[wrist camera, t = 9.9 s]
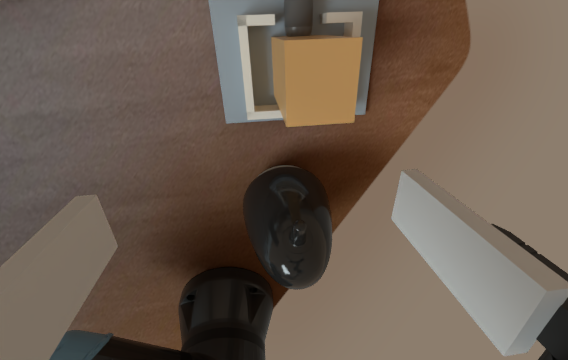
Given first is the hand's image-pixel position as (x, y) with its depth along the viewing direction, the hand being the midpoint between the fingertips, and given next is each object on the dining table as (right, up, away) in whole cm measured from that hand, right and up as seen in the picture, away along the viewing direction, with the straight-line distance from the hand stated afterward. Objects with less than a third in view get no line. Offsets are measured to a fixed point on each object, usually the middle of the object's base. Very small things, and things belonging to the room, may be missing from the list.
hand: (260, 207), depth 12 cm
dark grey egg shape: (+1, 0, +24) cm, 24 cm away
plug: (+2, +17, +13) cm, 22 cm away
